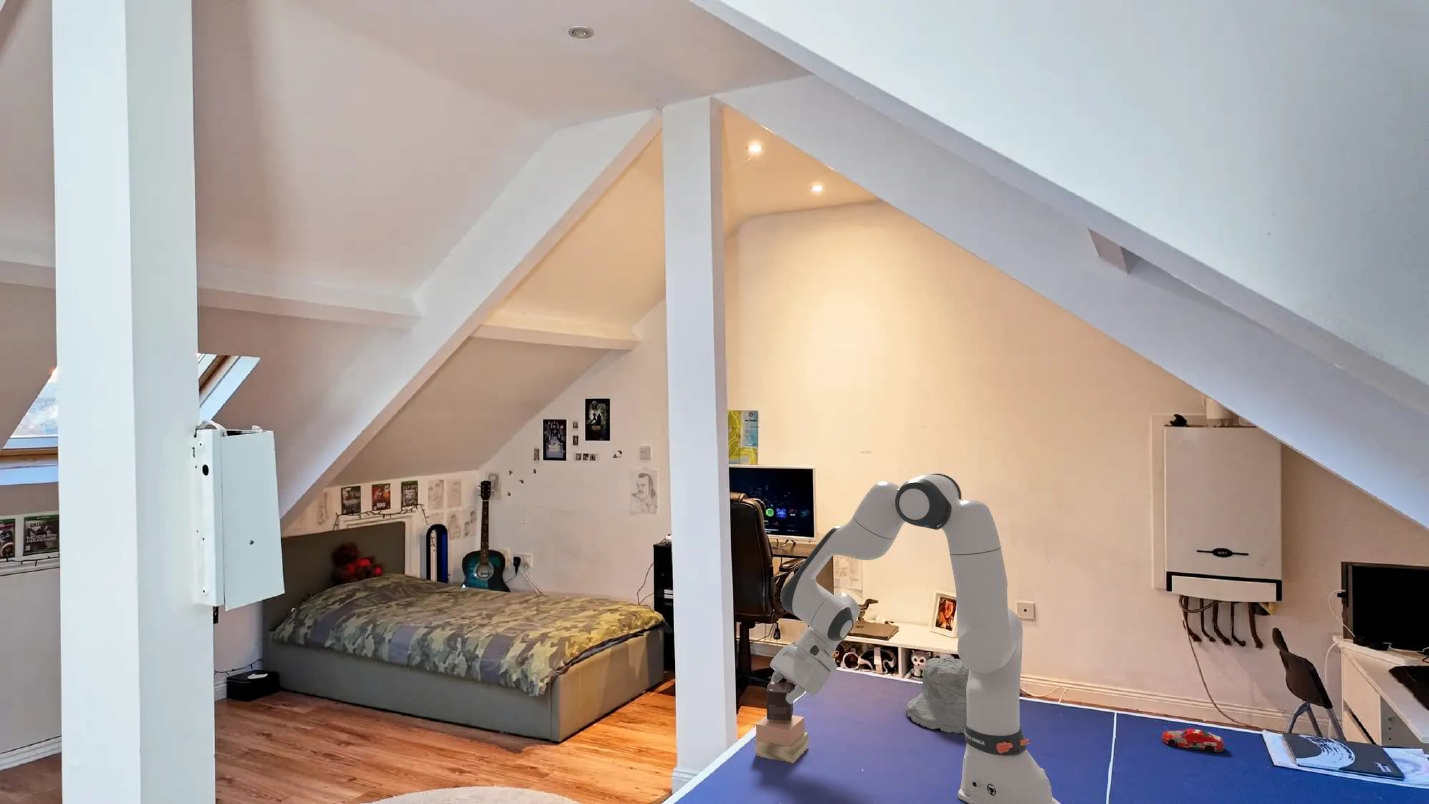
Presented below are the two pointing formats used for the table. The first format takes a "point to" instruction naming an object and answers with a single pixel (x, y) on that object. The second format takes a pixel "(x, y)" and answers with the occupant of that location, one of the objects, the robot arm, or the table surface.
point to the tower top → (780, 730)
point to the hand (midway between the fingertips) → (778, 695)
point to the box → (779, 701)
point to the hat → (941, 696)
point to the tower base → (782, 749)
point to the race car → (1194, 740)
